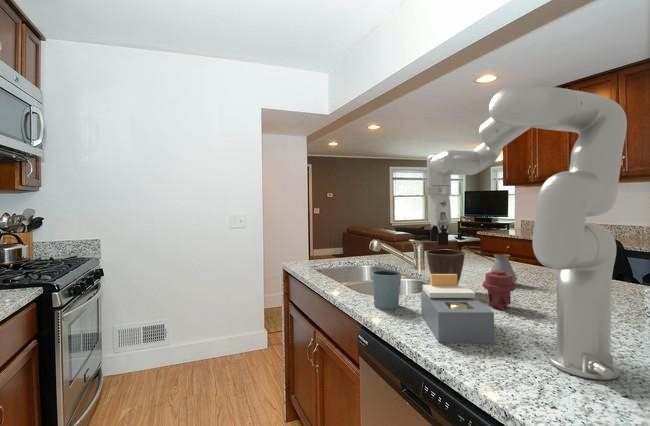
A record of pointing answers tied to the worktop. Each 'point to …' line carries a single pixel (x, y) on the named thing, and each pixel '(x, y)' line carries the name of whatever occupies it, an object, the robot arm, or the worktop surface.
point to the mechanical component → (498, 288)
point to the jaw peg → (458, 306)
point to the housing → (458, 320)
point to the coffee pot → (499, 263)
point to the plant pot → (445, 262)
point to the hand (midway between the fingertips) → (438, 243)
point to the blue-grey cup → (386, 289)
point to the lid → (447, 287)
